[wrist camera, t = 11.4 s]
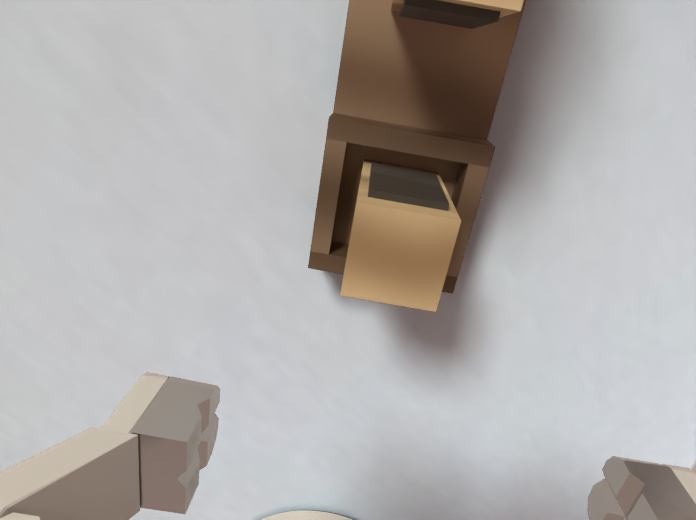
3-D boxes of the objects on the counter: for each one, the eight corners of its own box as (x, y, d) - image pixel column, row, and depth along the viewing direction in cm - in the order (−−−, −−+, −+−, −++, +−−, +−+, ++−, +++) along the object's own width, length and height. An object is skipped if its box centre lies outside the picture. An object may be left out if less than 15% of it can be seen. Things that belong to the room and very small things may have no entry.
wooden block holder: (442, 273, 29) (468, 368, 20) (315, 251, 29) (286, 336, 20) (545, -100, 21) (659, -208, 12) (370, -131, 21) (361, -262, 12)
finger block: (421, 240, 26) (436, 311, 19) (351, 228, 26) (339, 295, 19) (439, 166, 25) (463, 213, 17) (365, 153, 25) (357, 194, 17)
